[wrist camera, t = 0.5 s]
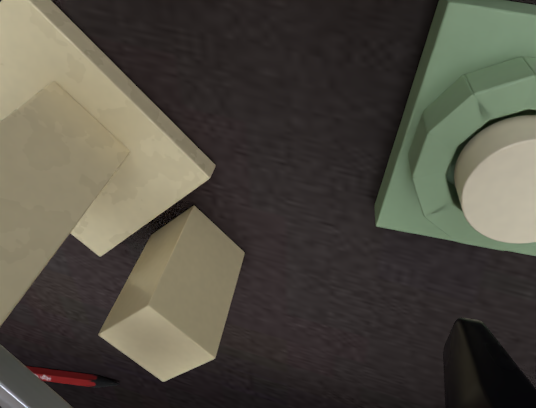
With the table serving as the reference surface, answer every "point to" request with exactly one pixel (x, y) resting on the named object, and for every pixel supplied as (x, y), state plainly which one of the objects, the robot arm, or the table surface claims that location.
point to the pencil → (71, 377)
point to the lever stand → (76, 147)
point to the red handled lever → (24, 386)
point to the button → (500, 180)
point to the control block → (457, 114)
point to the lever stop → (176, 297)
